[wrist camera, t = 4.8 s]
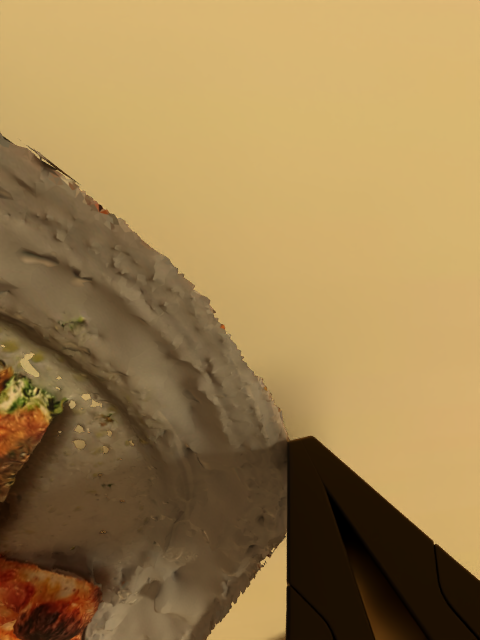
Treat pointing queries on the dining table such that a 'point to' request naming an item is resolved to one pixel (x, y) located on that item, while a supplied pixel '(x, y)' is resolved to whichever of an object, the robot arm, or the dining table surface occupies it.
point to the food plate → (121, 430)
